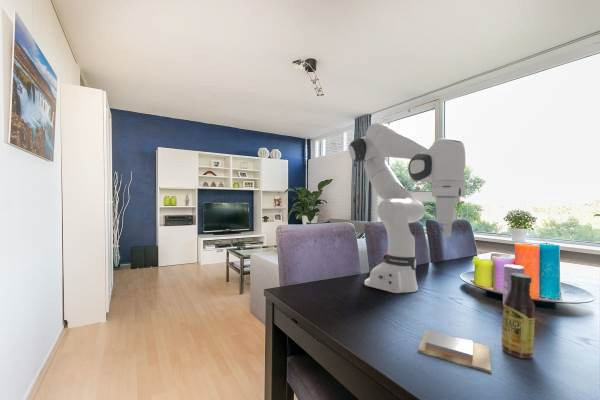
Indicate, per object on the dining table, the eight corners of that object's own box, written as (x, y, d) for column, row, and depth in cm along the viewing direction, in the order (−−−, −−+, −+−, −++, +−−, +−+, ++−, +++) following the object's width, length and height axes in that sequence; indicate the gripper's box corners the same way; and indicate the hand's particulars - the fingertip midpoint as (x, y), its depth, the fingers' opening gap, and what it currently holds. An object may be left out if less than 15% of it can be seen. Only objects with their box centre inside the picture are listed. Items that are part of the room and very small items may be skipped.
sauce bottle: (495, 346, 71) (496, 270, 71) (517, 346, 72) (518, 270, 72) (517, 361, 65) (518, 278, 65) (541, 360, 65) (543, 278, 65)
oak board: (418, 351, 68) (418, 349, 68) (425, 332, 78) (425, 330, 78) (491, 373, 60) (491, 370, 60) (488, 348, 70) (488, 346, 70)
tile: (429, 336, 75) (425, 348, 69) (429, 330, 75) (425, 342, 69) (472, 347, 70) (472, 361, 63) (472, 341, 70) (472, 355, 63)
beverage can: (527, 311, 94) (528, 268, 94) (508, 310, 96) (509, 267, 96) (517, 305, 100) (518, 264, 100) (499, 303, 101) (500, 263, 101)
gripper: (440, 192, 93) (439, 232, 93) (432, 190, 76) (431, 239, 76) (461, 192, 90) (460, 234, 90) (458, 189, 73) (457, 241, 73)
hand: (447, 236), depth 83 cm, fingers closed
